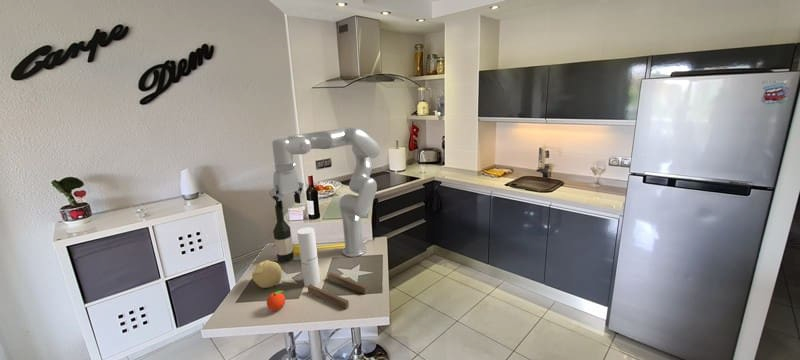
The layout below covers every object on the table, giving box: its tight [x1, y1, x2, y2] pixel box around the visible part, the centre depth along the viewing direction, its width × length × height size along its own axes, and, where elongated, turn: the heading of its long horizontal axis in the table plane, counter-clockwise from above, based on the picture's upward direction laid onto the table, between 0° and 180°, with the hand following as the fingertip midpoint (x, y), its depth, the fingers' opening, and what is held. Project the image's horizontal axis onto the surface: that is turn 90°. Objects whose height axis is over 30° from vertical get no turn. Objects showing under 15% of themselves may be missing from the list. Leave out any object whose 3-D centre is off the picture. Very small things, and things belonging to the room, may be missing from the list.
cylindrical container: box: [296, 226, 321, 287], centre depth 145 cm, size 7×7×25 cm
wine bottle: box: [272, 205, 295, 264], centre depth 166 cm, size 8×8×30 cm
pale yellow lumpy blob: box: [251, 259, 283, 289], centre depth 147 cm, size 11×12×11 cm
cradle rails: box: [307, 272, 368, 310], centre depth 139 cm, size 13×22×3 cm, turn 56°
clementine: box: [266, 290, 286, 312], centre depth 130 cm, size 8×7×7 cm
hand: (289, 205), depth 145 cm, fingers open, 9 cm apart
